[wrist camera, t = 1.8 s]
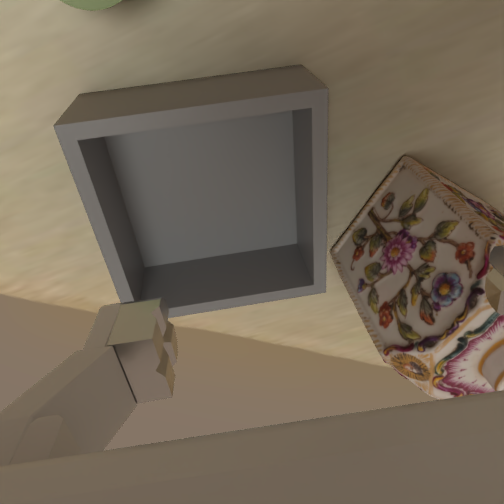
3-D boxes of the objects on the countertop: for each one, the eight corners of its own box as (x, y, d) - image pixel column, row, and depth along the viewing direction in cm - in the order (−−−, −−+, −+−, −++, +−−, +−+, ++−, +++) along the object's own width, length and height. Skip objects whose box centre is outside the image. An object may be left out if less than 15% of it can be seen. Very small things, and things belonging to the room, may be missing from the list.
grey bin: (79, 94, 29) (53, 125, 23) (301, 64, 30) (328, 88, 24) (137, 270, 38) (129, 324, 33) (305, 244, 39) (326, 292, 33)
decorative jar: (403, 149, 35) (560, 283, 20) (491, 201, 39) (673, 343, 25) (323, 254, 40) (402, 420, 26) (409, 290, 45) (518, 449, 30)
